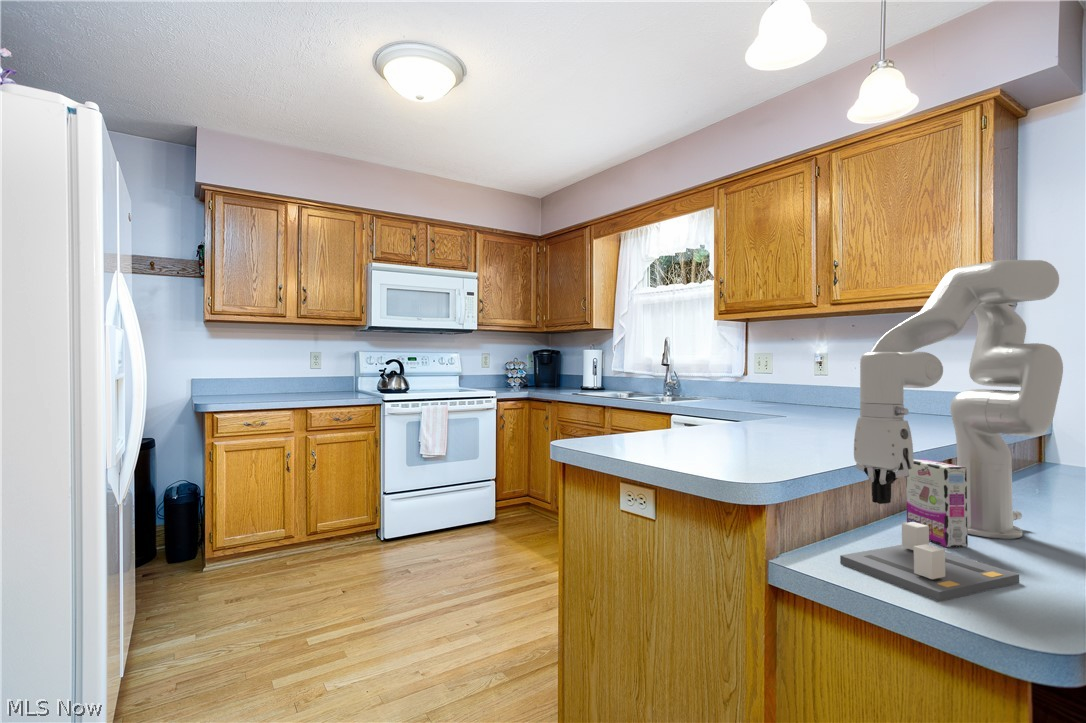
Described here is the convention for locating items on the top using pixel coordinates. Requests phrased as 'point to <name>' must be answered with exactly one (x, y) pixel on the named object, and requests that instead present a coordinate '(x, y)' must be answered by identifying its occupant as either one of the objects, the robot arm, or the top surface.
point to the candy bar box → (939, 501)
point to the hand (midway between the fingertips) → (881, 502)
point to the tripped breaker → (914, 535)
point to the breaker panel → (956, 583)
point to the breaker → (929, 561)
